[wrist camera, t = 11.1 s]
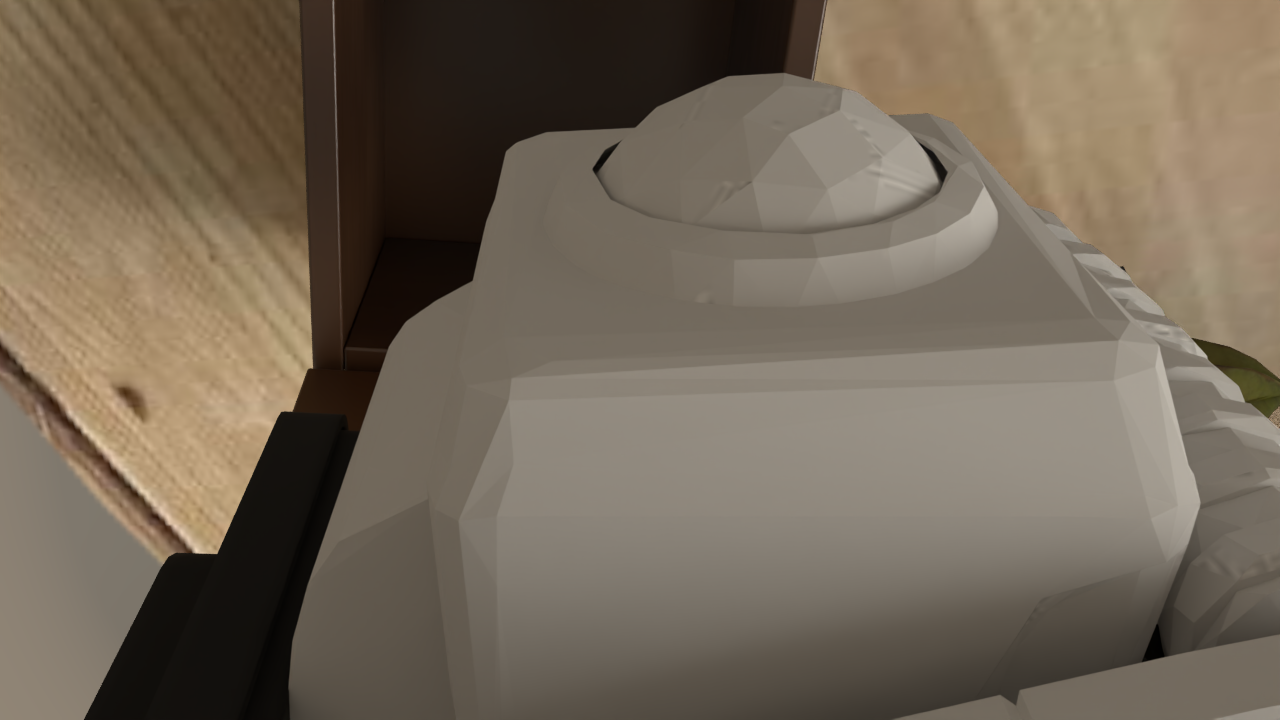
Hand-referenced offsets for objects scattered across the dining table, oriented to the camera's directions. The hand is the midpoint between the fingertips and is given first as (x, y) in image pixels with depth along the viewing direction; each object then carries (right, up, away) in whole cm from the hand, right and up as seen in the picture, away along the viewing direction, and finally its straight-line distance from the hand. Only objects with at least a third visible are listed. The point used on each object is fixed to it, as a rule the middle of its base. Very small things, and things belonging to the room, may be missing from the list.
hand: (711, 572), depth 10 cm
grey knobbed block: (0, +4, -4) cm, 6 cm away
